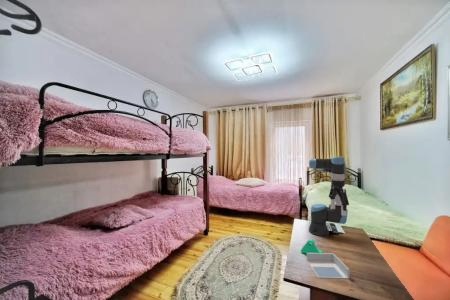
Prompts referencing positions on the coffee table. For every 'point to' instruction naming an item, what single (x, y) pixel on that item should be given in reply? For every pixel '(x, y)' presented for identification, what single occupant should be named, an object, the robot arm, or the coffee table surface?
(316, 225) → the robot arm
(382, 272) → the coffee table surface
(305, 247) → the camera mount
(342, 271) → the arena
